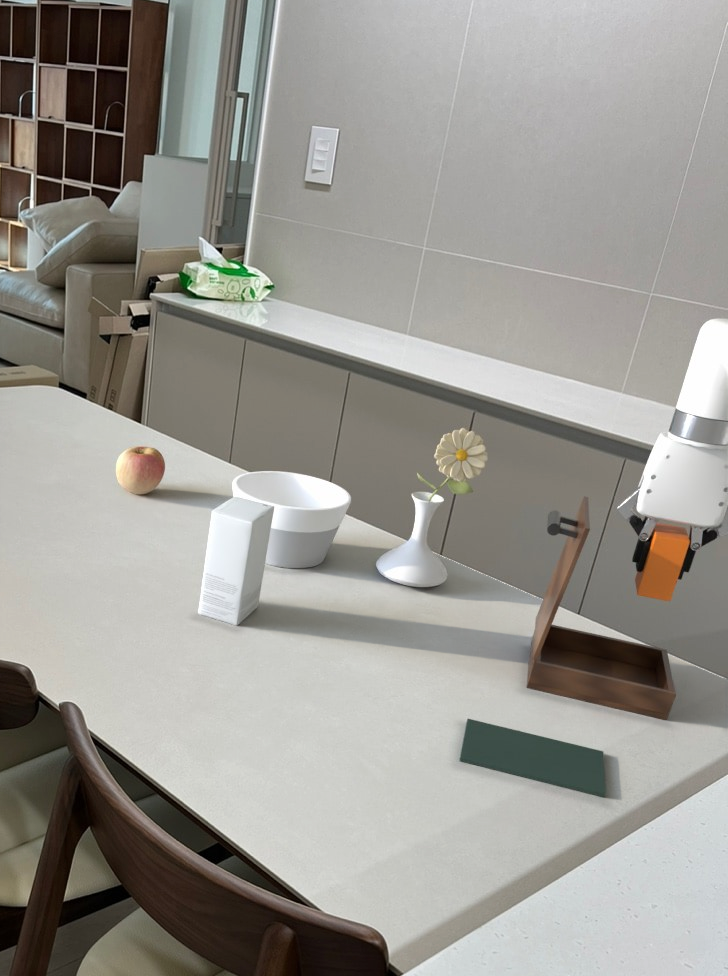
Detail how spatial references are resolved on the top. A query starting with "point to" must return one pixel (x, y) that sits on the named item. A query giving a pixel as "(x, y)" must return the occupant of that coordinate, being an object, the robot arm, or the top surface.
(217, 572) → the cosmetic box
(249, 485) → the bowl
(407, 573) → the flower in vase
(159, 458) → the apple
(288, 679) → the top surface
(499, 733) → the mat
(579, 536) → the lid
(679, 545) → the orange block
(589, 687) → the chest
